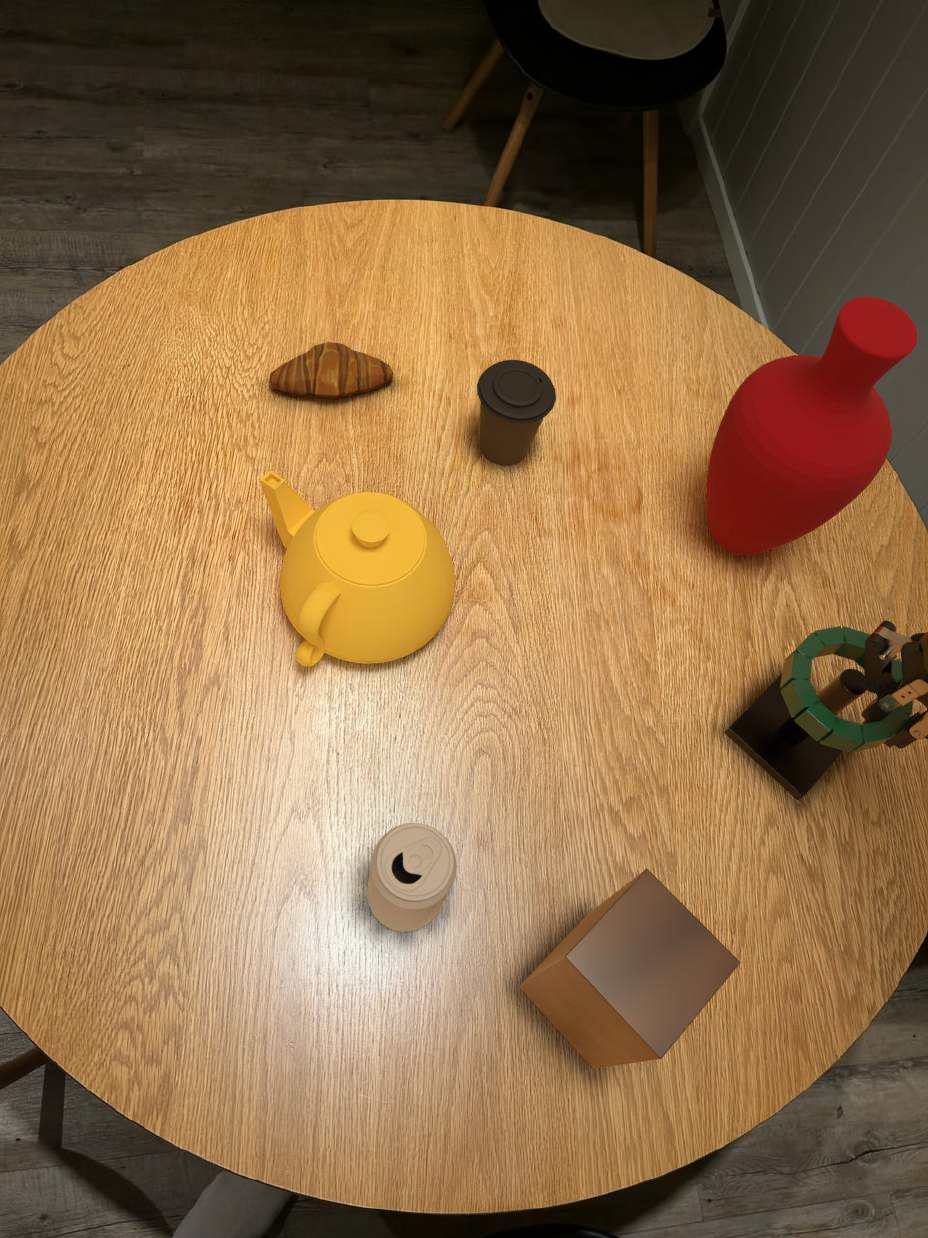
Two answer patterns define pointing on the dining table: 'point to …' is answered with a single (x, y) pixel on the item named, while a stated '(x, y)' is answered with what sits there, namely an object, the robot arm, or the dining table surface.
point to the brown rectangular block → (630, 976)
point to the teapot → (360, 574)
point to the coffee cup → (512, 409)
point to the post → (792, 733)
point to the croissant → (330, 373)
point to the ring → (819, 717)
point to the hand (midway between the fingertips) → (881, 729)
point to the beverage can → (410, 876)
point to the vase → (806, 433)
